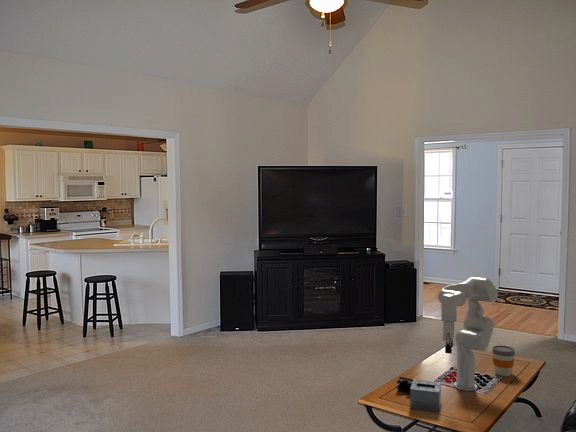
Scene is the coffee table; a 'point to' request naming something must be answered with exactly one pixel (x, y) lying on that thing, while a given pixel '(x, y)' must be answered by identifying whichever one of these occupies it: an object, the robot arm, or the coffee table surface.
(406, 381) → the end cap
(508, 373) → the reusable coffee cup
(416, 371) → the coffee table surface
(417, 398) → the box
